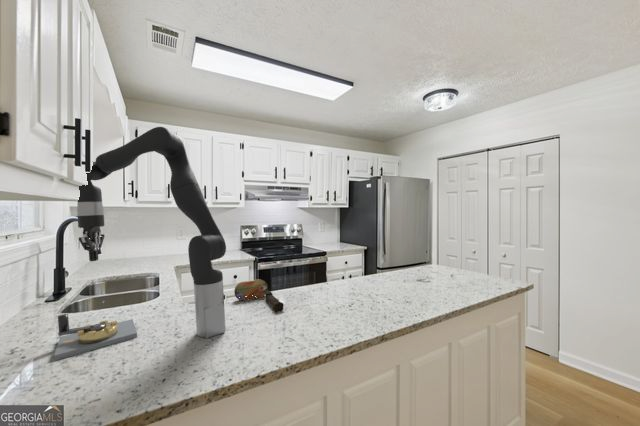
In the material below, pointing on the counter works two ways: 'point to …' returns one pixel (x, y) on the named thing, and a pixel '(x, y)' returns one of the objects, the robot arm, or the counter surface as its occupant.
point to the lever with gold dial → (88, 330)
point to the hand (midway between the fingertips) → (94, 260)
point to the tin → (250, 289)
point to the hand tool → (274, 301)
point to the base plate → (72, 347)
